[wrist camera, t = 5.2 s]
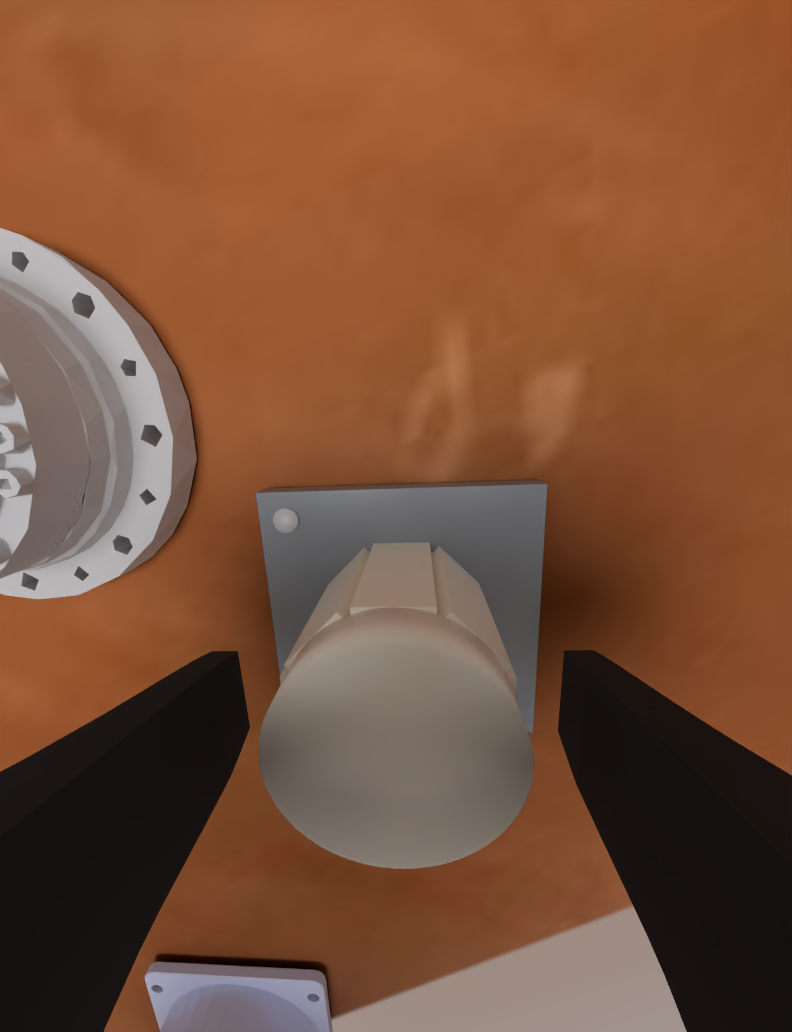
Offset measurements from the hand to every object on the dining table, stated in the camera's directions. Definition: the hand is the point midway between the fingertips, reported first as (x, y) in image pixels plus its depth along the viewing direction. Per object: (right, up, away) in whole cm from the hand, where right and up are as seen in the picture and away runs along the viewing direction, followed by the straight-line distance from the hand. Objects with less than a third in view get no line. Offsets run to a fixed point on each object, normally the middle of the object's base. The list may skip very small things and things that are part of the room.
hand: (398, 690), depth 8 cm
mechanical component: (-11, +7, +3) cm, 13 cm away
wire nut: (0, +1, +3) cm, 3 cm away
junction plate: (0, +1, +4) cm, 4 cm away
